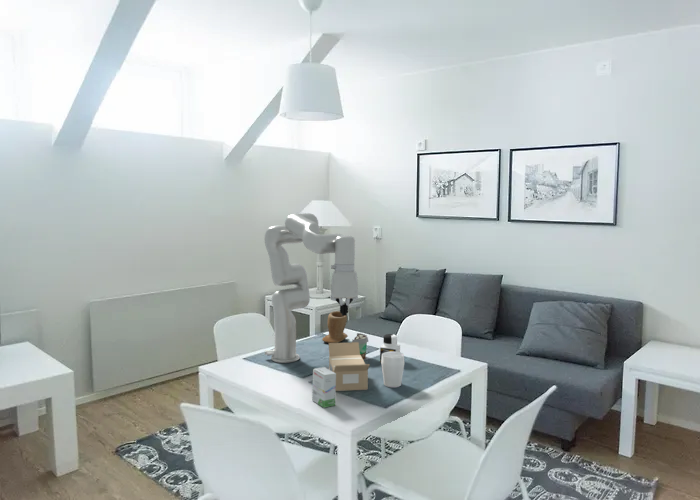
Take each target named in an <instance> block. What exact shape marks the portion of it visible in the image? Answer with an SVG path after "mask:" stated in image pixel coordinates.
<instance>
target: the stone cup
mask: <svg viewBox="0 0 700 500" xmlns="http://www.w3.org/2000/svg"><path fill="white" fill-rule="evenodd" d="M347 323H348V315H346V316H345V315H344V316H342V314H341V313H340V310H335V311H330V313H329V314H328V316H327V329H328V334H327V335H325V336H323V337H322V339H321V340H322V342H324V343H328V344H329V343H342V342H343V341H344V340H345V339H346V338H347V337H349V335H348V334H347V333H346V332H344V331H345V328H346V325H347Z"/></svg>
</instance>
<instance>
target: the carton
mask: <svg viewBox="0 0 700 500" xmlns="http://www.w3.org/2000/svg"><path fill="white" fill-rule="evenodd" d="M328 360H329V361H328V363H329V364H328V365H329V366H328V369H329V370H331V371H332V372H334V369H335V365H361V364H366V362H365V361H364V360H363V359H362V357H361V355H346V356H329V357H328ZM368 372H369V369H368V370H367V371H342V372H334V373H336V391H335V392H343V391H344V392H345V391H363V390H366V391H367V390H368V387H369V386H368V384H369V382H368V381H369V380H368V378H369V376H368V375H369V373H368Z"/></svg>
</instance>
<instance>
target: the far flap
mask: <svg viewBox="0 0 700 500" xmlns="http://www.w3.org/2000/svg"><path fill="white" fill-rule="evenodd" d="M328 352H329V353H328V354H329V356H346V355H360V350H359V342H352V341H351V342H338V343H328Z"/></svg>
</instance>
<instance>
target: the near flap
mask: <svg viewBox="0 0 700 500" xmlns="http://www.w3.org/2000/svg"><path fill="white" fill-rule="evenodd" d="M370 366H371V365H370V363H365V364H361V365H335V369H334V372H342V371H367V370H368V371H369V368H370Z"/></svg>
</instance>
